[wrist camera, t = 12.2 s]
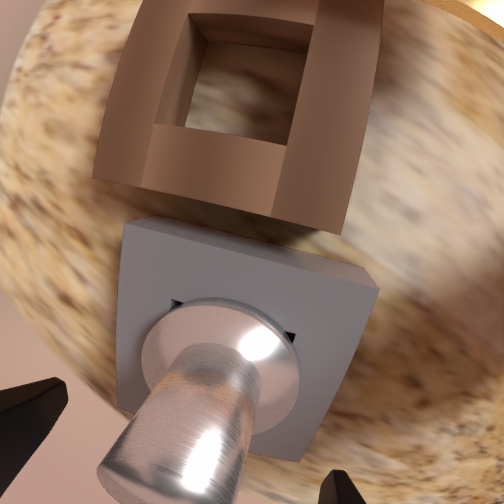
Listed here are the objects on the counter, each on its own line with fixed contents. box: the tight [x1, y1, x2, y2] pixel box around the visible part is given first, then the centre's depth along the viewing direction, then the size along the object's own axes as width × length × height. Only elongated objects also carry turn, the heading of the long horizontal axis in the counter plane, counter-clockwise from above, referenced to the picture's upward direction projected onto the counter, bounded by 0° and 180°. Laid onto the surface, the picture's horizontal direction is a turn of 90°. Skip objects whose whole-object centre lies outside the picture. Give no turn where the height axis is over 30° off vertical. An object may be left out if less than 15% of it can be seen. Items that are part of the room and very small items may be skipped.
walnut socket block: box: [92, 0, 384, 235], centre depth 11 cm, size 10×10×3 cm
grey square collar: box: [116, 215, 379, 462], centre depth 14 cm, size 10×10×3 cm
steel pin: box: [97, 297, 300, 504], centre depth 10 cm, size 6×6×10 cm
